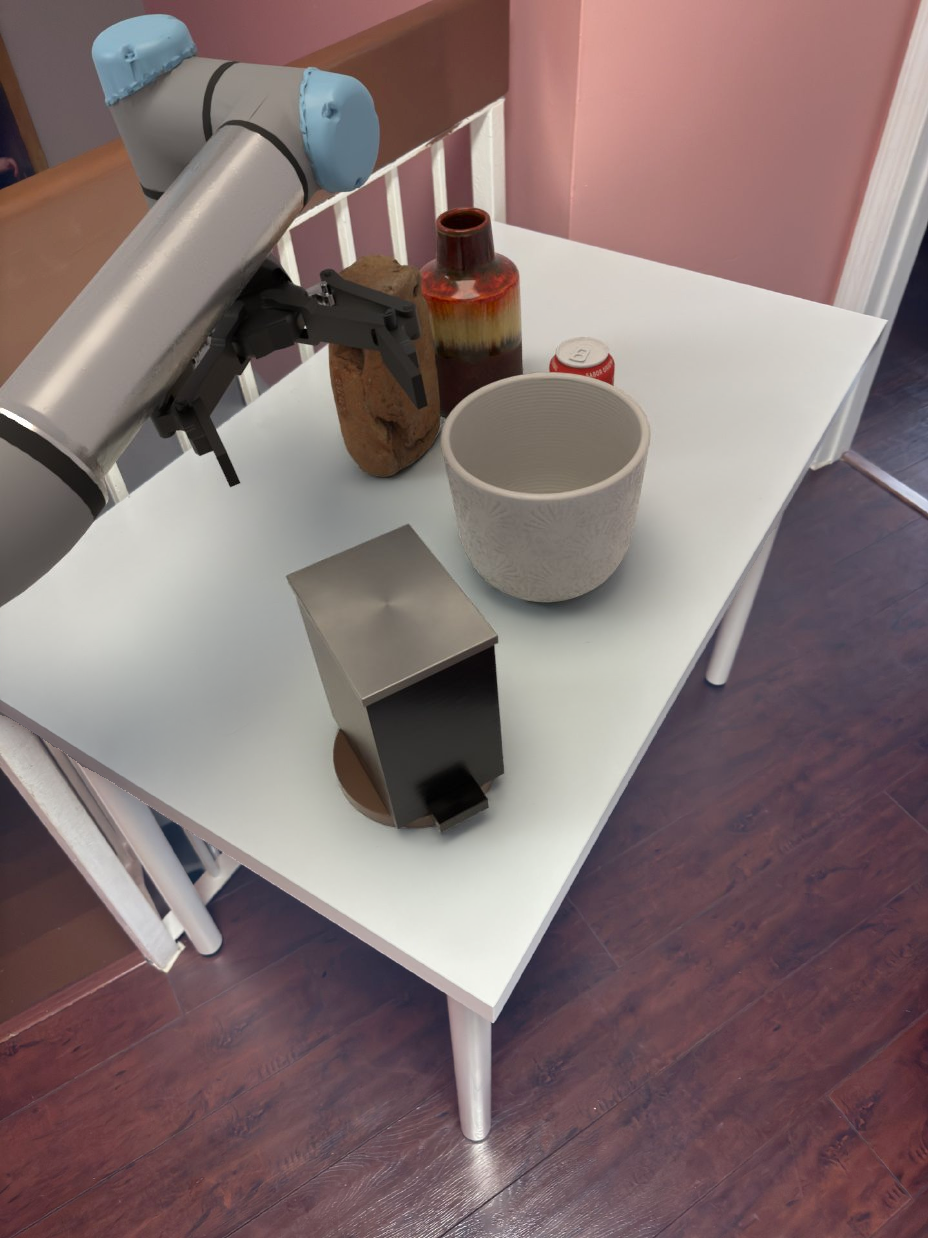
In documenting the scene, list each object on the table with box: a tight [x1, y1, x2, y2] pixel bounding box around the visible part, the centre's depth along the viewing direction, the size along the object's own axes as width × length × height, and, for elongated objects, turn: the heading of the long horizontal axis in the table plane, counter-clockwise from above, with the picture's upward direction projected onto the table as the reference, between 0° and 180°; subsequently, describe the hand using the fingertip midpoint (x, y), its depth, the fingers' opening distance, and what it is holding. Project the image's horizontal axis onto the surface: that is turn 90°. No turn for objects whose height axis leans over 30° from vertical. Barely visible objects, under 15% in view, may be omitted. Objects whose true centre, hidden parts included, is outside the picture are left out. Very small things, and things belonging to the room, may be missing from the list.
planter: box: [440, 371, 651, 603], centre depth 79 cm, size 17×17×15 cm
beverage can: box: [548, 336, 616, 386], centre depth 91 cm, size 6×6×12 cm
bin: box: [285, 523, 505, 834], centre depth 64 cm, size 9×14×16 cm, turn 29°
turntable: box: [332, 727, 495, 829], centre depth 71 cm, size 13×13×2 cm
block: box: [327, 253, 441, 478], centre depth 91 cm, size 11×8×20 cm
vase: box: [419, 206, 524, 419], centre depth 97 cm, size 11×11×20 cm
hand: (326, 431), depth 60 cm, fingers open, 13 cm apart
